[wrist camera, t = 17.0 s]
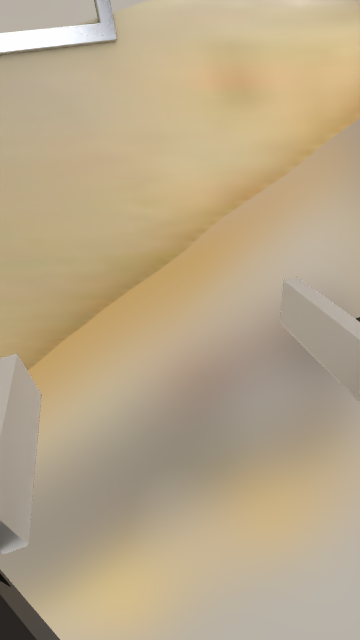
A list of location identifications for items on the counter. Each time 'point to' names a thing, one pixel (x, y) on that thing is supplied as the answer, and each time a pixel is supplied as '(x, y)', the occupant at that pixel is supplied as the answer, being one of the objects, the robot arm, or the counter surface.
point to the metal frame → (62, 34)
